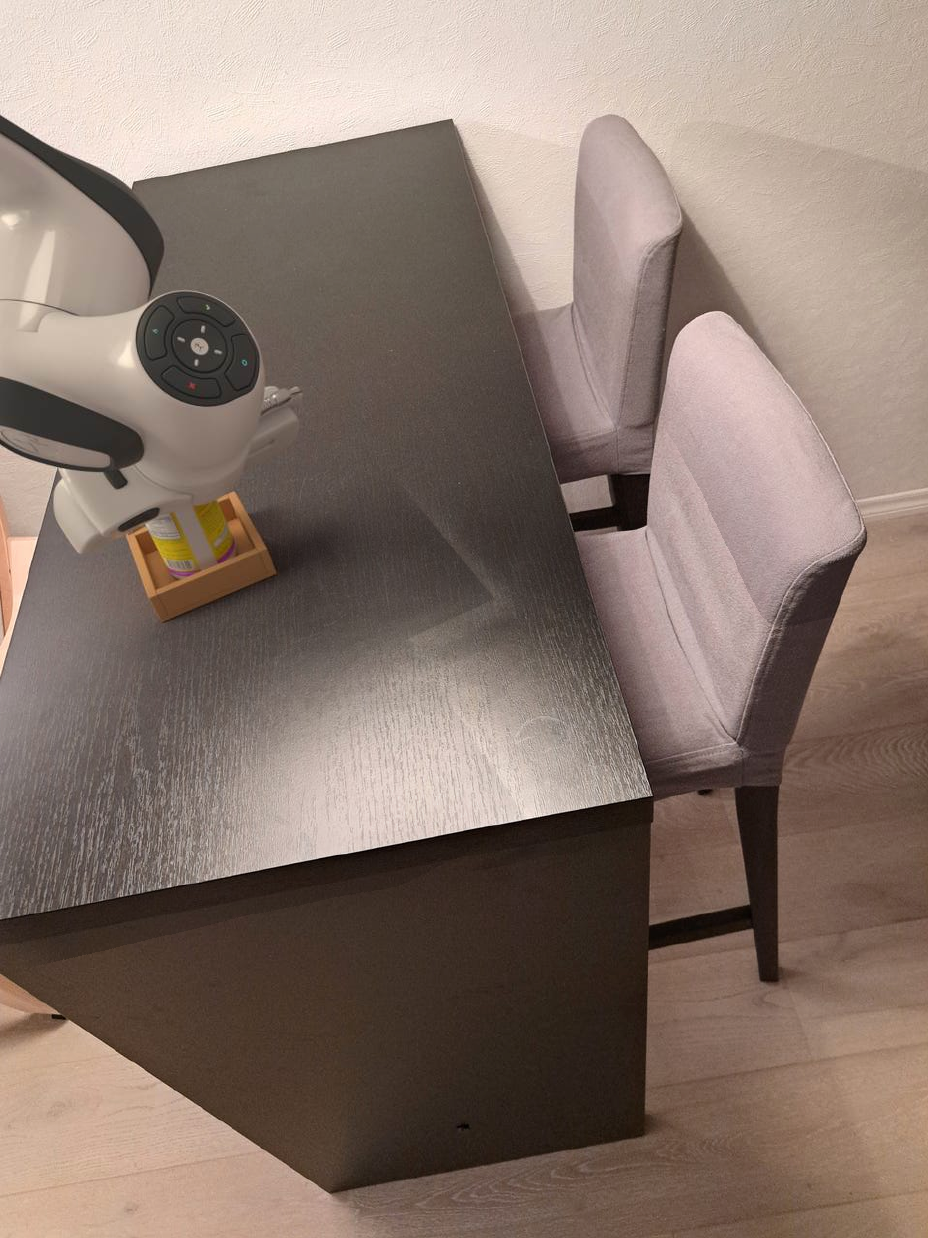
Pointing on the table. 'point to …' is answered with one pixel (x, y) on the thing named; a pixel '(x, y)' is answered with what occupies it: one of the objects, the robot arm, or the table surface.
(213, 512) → the supplement bottle
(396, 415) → the table surface
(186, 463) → the robot arm
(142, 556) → the open wooden box
